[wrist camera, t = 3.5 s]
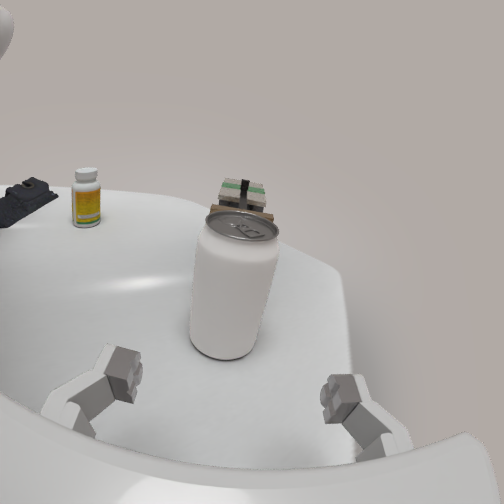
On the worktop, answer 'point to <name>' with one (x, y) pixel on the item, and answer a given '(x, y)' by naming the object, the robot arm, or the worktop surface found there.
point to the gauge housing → (232, 194)
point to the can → (231, 282)
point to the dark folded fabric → (24, 200)
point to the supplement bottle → (86, 198)
